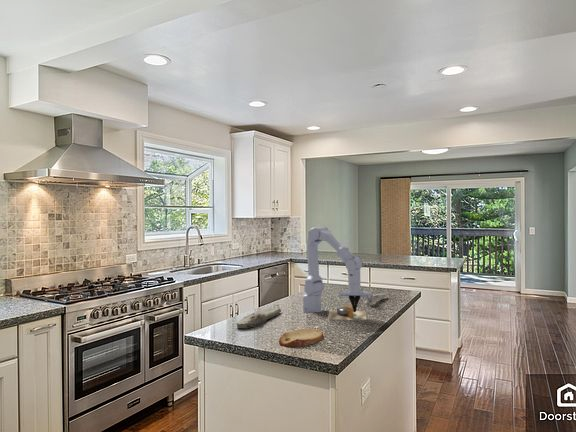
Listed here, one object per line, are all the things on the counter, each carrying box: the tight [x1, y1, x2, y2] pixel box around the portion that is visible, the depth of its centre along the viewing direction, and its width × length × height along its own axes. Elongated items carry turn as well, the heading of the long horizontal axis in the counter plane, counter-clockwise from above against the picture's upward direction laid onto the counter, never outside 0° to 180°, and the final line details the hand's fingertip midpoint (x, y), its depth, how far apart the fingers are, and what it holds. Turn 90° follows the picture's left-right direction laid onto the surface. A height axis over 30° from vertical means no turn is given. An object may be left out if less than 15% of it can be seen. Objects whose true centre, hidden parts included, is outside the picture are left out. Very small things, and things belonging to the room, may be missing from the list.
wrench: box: [363, 291, 388, 307], centre depth 219 cm, size 8×2×30 cm
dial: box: [336, 304, 353, 318], centre depth 188 cm, size 13×8×5 cm, turn 12°
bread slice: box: [278, 327, 324, 348], centre depth 155 cm, size 18×18×4 cm
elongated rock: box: [236, 307, 282, 330], centre depth 186 cm, size 35×5×10 cm
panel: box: [327, 309, 367, 321], centre depth 189 cm, size 18×18×1 cm
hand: (354, 311), depth 185 cm, fingers closed
